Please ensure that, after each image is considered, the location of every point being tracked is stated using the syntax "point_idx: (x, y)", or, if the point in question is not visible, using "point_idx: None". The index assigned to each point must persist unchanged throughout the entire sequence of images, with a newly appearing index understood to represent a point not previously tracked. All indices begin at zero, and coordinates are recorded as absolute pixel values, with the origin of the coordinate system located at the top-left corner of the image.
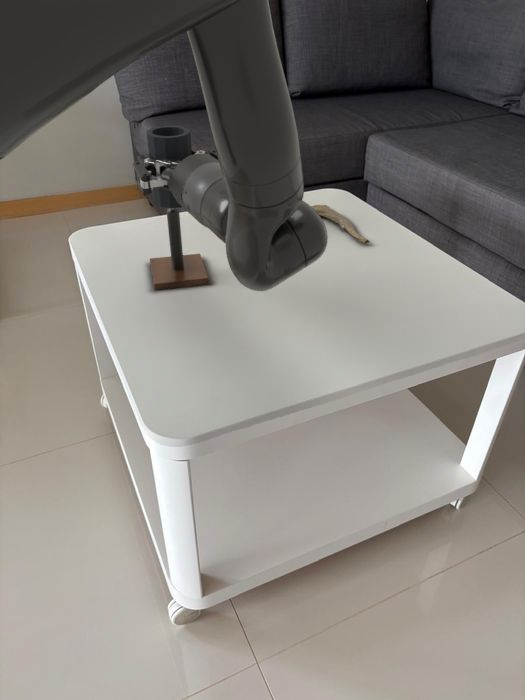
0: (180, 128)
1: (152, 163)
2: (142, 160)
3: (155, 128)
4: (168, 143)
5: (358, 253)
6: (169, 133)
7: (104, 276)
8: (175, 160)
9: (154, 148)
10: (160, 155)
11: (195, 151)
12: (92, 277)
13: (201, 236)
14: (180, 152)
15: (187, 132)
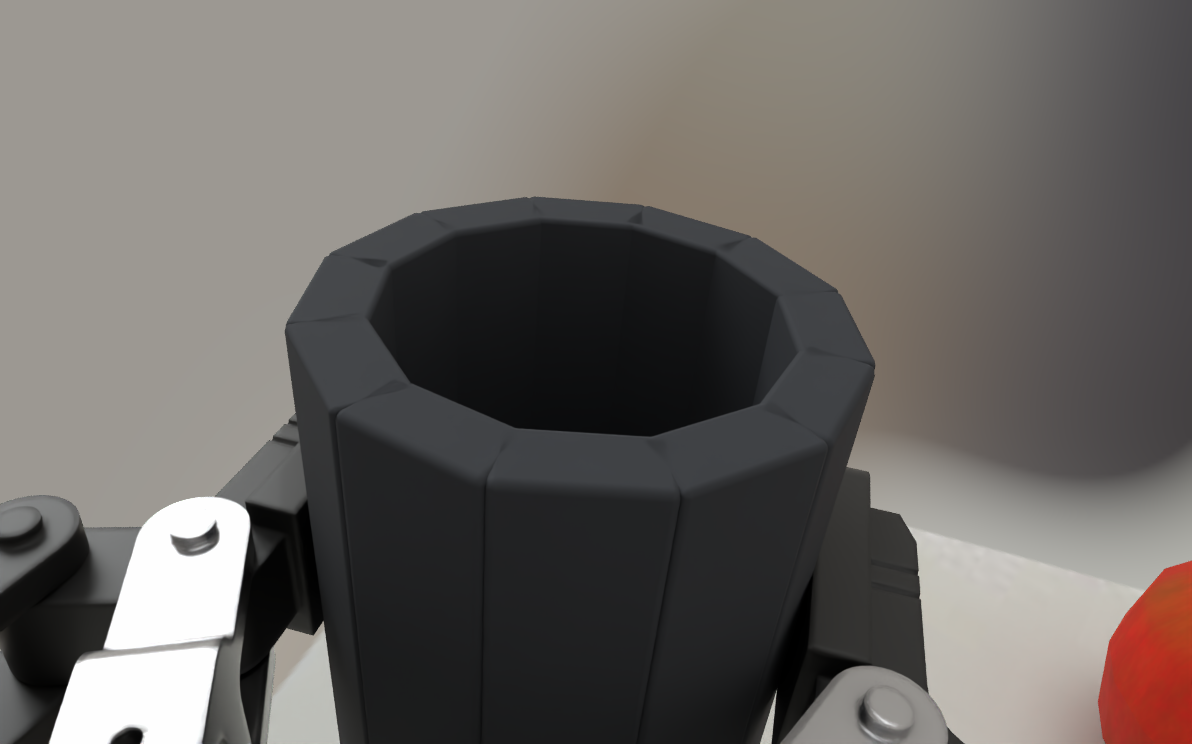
0: (786, 314)
1: (112, 632)
2: (252, 471)
3: (548, 214)
4: (376, 499)
5: None
6: (684, 307)
7: (328, 721)
8: (443, 706)
9: (301, 443)
10: (325, 550)
11: (836, 649)
12: (291, 694)
13: None
14: (530, 661)
15: (775, 438)
